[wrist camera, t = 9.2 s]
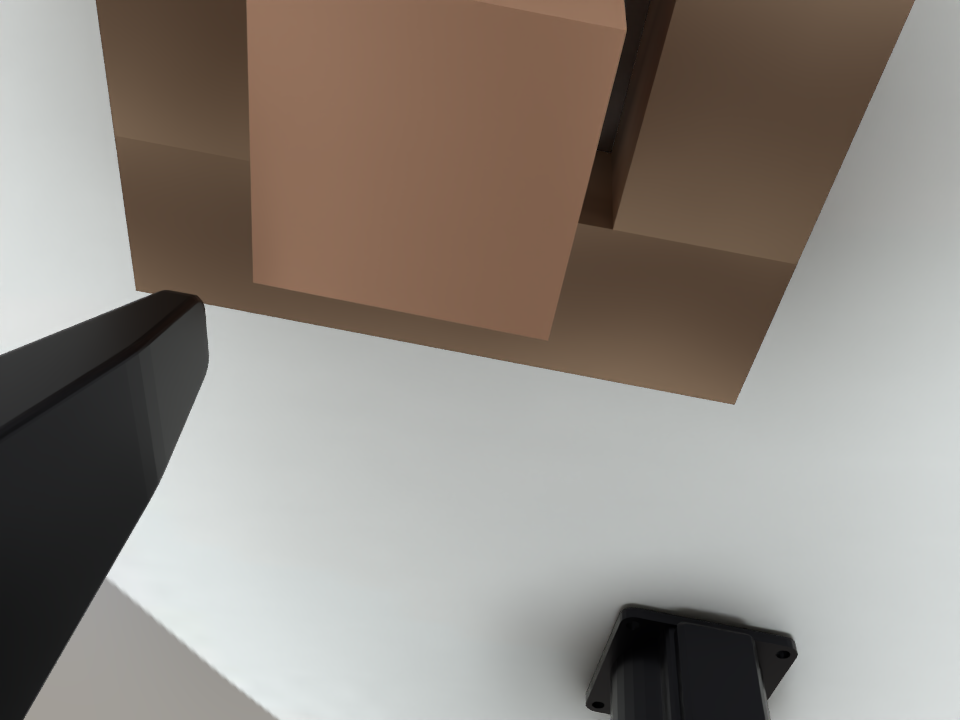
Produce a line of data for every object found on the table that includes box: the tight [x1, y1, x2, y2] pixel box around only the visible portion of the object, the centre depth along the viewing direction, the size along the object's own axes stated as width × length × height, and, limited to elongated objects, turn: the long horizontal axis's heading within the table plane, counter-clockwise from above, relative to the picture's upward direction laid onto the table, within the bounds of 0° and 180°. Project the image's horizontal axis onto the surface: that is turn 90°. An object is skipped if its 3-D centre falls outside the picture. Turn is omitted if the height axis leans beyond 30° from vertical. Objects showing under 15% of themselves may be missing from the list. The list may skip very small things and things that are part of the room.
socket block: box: [96, 0, 915, 405], centre depth 16 cm, size 14×14×4 cm
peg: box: [246, 0, 627, 341], centre depth 13 cm, size 4×4×10 cm
